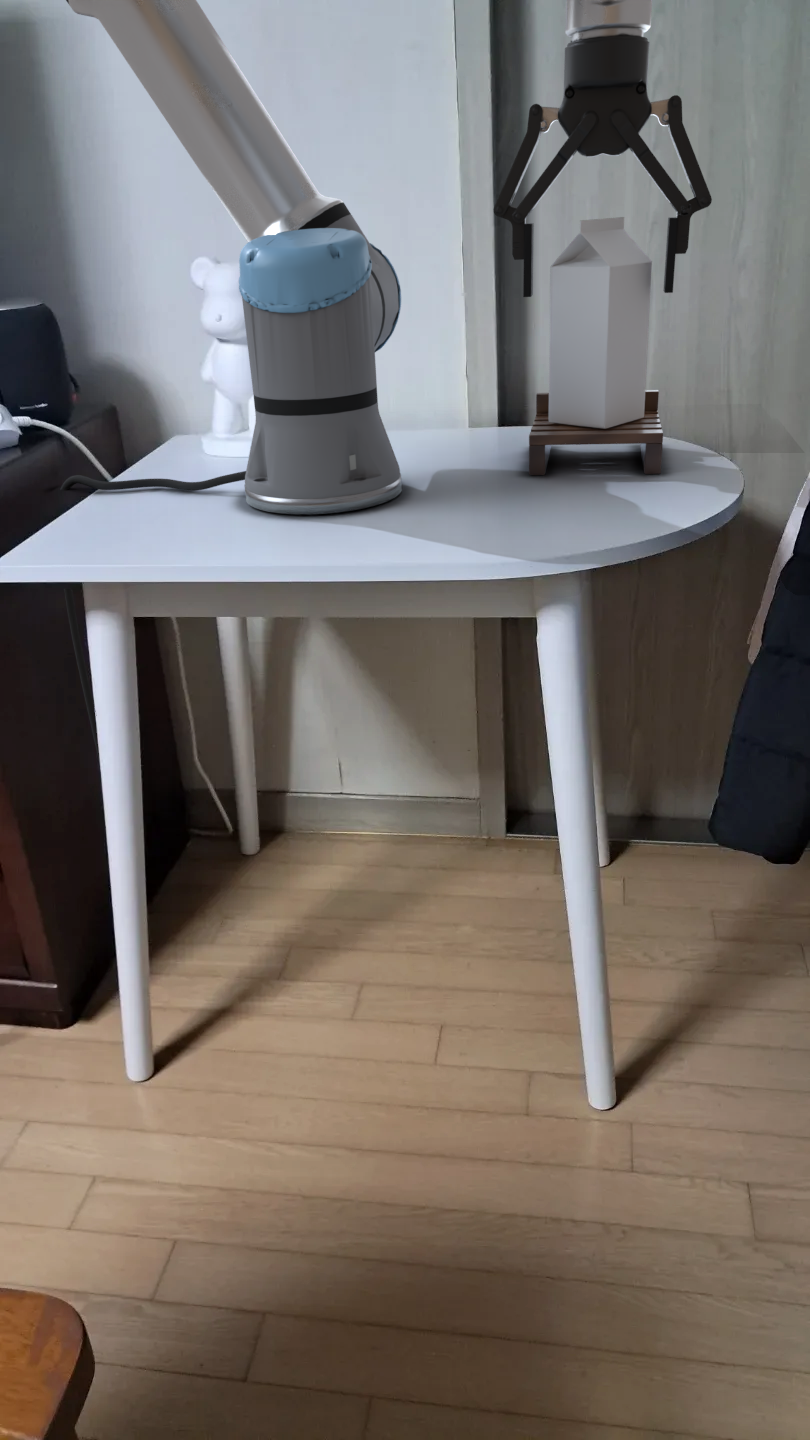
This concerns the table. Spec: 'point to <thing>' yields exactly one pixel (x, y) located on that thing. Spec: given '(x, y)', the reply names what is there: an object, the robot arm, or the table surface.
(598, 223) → the milk carton
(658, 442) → the wooden bench
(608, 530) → the table surface
